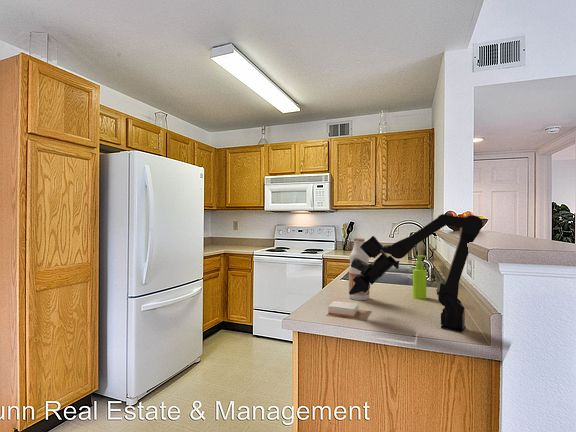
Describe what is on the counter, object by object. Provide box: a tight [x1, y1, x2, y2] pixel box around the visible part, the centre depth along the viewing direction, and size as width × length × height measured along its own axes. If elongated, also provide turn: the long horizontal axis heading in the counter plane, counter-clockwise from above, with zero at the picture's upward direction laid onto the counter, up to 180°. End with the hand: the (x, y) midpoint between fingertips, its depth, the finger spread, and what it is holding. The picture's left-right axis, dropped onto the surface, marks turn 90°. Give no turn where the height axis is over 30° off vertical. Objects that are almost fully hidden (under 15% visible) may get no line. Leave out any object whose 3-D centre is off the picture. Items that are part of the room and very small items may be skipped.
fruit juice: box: [348, 237, 370, 301], centre depth 148 cm, size 9×9×28 cm
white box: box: [327, 300, 359, 317], centre depth 123 cm, size 3×8×10 cm
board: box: [325, 309, 372, 322], centre depth 122 cm, size 15×13×1 cm
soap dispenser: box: [412, 254, 429, 300], centre depth 149 cm, size 6×7×20 cm
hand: (349, 293), depth 122 cm, fingers closed
